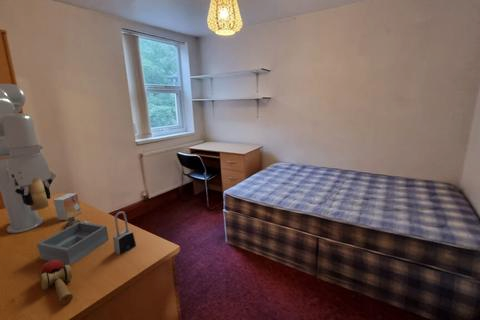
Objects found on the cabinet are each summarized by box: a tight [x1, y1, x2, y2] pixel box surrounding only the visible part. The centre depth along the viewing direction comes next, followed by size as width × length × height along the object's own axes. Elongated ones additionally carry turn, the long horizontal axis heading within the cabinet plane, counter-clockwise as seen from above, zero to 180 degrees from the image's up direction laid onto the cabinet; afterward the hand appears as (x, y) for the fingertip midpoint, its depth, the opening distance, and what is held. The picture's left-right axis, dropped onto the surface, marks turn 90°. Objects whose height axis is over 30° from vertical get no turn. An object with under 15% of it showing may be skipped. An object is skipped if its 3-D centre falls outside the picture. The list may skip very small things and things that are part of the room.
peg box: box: [36, 221, 109, 267], centre depth 88 cm, size 14×16×6 cm
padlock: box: [112, 211, 137, 256], centre depth 87 cm, size 7×4×15 cm, turn 145°
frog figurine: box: [61, 217, 91, 231], centre depth 105 cm, size 12×12×4 cm
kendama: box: [39, 260, 74, 305], centre depth 70 cm, size 8×6×18 cm
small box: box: [53, 192, 82, 221], centre depth 114 cm, size 8×6×10 cm
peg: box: [28, 178, 50, 211], centre depth 83 cm, size 5×5×11 cm
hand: (38, 201), depth 84 cm, fingers closed on peg, 5 cm apart
